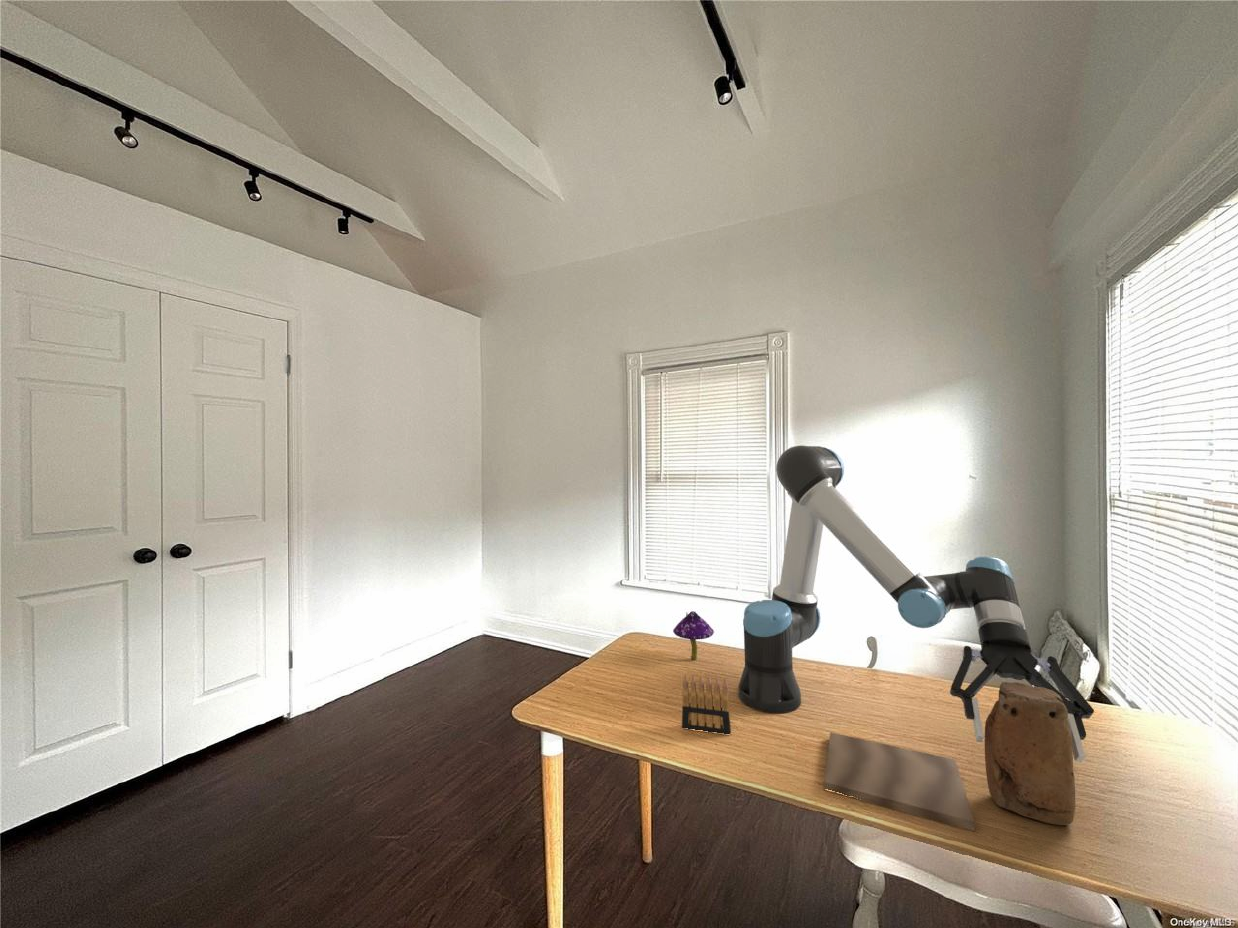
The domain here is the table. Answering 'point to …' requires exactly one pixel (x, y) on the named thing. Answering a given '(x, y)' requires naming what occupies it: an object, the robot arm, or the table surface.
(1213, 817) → the table surface
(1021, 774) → the block
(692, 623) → the decorative mushroom
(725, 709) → the ammunition clip
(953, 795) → the walnut board
